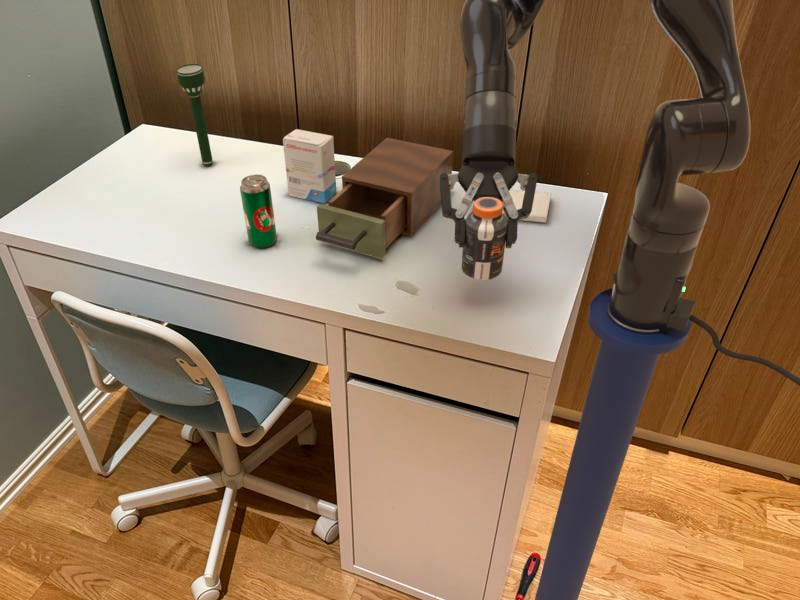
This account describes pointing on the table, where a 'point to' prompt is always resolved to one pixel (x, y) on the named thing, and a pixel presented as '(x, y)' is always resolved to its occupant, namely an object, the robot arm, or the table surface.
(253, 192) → the soda can
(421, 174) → the cabinet
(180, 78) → the flashlight
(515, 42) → the robot arm
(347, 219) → the drawer
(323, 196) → the ink box
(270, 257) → the table surface
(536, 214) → the hard drive
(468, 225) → the pill bottle
